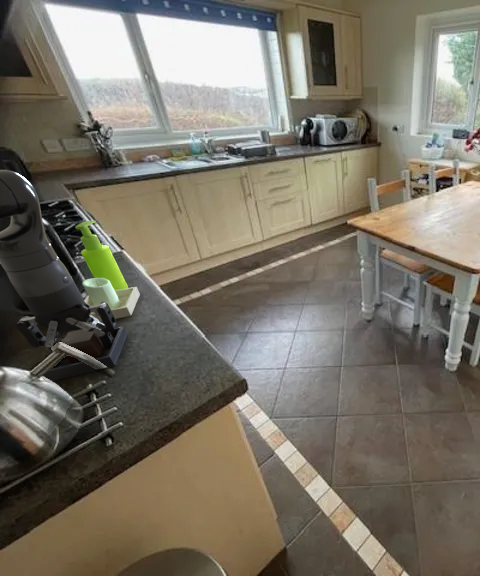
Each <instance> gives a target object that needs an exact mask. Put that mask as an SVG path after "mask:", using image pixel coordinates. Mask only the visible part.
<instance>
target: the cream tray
mask: <svg viewBox="0 0 480 576" xmlns="http://www.w3.org/2000/svg"><path fill="white" fill-rule="evenodd" d="M115 293H116V295H117V297H118V299H119V301H120V303H121V305H120V306H119V307H118V308H115V309H111V311H112V313H113V315H114V317H115V319H116V320H117V319H121V318H126V317H131V316H132V315H133V312H134V310H135V307H136V306H137V303H138V300H139V298H140V295H141V293H140V291H139V289H138V286H132V287H128V288H126V289H120V290H115ZM83 299H84V301H85V303H87V304H88V305H90V306H94V304H93V302H92V300H91V299H90V297H89V295H88V294H87V295H86V296H85V298H83ZM90 315H91V316H93V317H95V318H97V319H98V320H99V321H100V322H101V323H103V321H102V319H101V317H100V316H97V315H96V314H95V313H94V312H91V313H90ZM87 324H89V322H88V321H87Z"/></svg>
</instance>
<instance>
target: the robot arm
mask: <svg viewBox="0 0 480 576" xmlns="http://www.w3.org/2000/svg"><path fill="white" fill-rule="evenodd" d="M6 218H10V224H9V226H8V227H6V228H5V229H3V230H1V231H0V265H1V266H2V268H3V269H4V272H5V273H6V275H7V277H8V279H9V281H10V283H11V285H12V286H13V288H14V290H15V291H16V292H17V294H18V295H19V296H20V298H21V299H22V301H23V303H24V304H25V305H26V306H27V309H29V311H30V313H31V314H32V315H34V316H28V315H25V316H22V318H20V319H19V320H18V322H17V323H16V324H15V326H16V328H17V329H18V331H19V332H20V333H21V335H22V336H23V337H24V338H25V339H26V341H27V342H28V344H29V345H30V346H31V347H32V348H39V347H45V348H48V349H49V350H50V352H52V350H51V347H52V346H54V345H55V344H56V343H58V342H62V341H61V340H62V339H59V336H60V333H61V334H63V333H68V332H71V331H77V330H82V329H83V330H85V331H87V332H93V333H95V334H97V335H99V339H100V341H101V342H102V344H103V346H104V347H105V349H106V350H108V349H110V348H111V346H112V344H113V342H114V339H113V337H112V335H111V333H110V332H111V331H114V329H115V328H116V326H117V324H118V321H117V319H115V317H114V315H113V313H112V311H111V309H110V307H109V305H108V303H107V302H101V303H100V304H99V305H94V306H90V305H88V304H87V303H85V301H84V299H85V298H84V297H83V295H82V293H81V291H80V289H79V288H78V286H77V284H76V283H75V281H74V279H73V278H72V277H73V276H72V275H71V274H70V272H69V270H68V268H67V267H66V266H65V264H64V263H63V262H62V261H61V260H60V257H58V254H57V252H56V251H55V249H54V248H53V246H52V244H51V242H50V241H49V238H48V237H47V234H46V230H45V226H44V222H43V217H42V211H41V204H40V199H39V196H38V193H37V191H36V189H35V187H34V185H32V184H31V182H30V181H29V180H27V178H25V177H24V176H22V175H21V174H19V173H18V172H15V171H13V170H9V169H0V220H1V219H6ZM91 312H94V313H95V314H96V315H97V316H100V317H101V319H102V322H100V321H99V320H98V319H97V318H95V317H93V316H91V315H90V313H91ZM87 321H88V322H89V324H87ZM38 325H41V326H43V327H45V328H47V332H46V336H45V335H44V334H43V332H42V331H41V330H40V328H39V327H38ZM65 359H67V358H66V357H65V358H63V359H62V360H65Z"/></svg>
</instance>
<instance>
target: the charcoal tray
mask: <svg viewBox="0 0 480 576" xmlns="http://www.w3.org/2000/svg"><path fill="white" fill-rule="evenodd" d="M110 333H111V335H112V337H113V339H114V342H113V344H112V346H111V348H110V349H108V350H106V349H105V350H104V353H103V355H102V357H100V358H96V360H98V361H100V362H101V363H103V364H104V365H106V366H107V367H108V368H107V369H109V368H114V367H116V366H117V363H118V361H119V358H120V355H121V352H122V350H123V348H124V345H125V343H126V340H127V338H128V333H127V330H126V328H125V327H124V326H123V325H122V326H117V327H115V329H114V331H111V332H110ZM60 340H61V341H63V340H64V338H62V339H60ZM93 372H98V370H96V369H94V368H92V367H91V366H89V365H87V364H85V363H84V362H79V363H74V364H70V362H69V361H68V359H65V360H61V361H60V362H59V363H58V364H57V365H56V366H54V367H53V368H52V369H50V370H48V371H47V372H46V373H45V374H44V376H45V377H46V378H48V379H50V380H52V382H56V381H60V380H64V379H68V378H73V377H77V376H80V375H85V374H88V373H93Z"/></svg>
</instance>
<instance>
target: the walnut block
mask: <svg viewBox="0 0 480 576" xmlns="http://www.w3.org/2000/svg"><path fill="white" fill-rule="evenodd" d="M63 339H64V340H63V341H62V342H63V343H65V344H67V345H69V346H71V347H74V348H76V349H78V350H80V351H82V352H84V353H86V354H88V355H90V356H92V357H94V358H95V359H96V358H100V357H102V355H103V353H104V350H105V347H104V346H103V344H102V342H101V341H100V339H99V335H97V334H95V333H93V332H87V331H85V330H83V329H78V330H71V331H67V333H66V335H65V337H64V338H63ZM66 358H67V359H68V361H69V362H70V364H74V363H79V362H81V361H79V360H78V359H76V358H74V357H71V356H66Z"/></svg>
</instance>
